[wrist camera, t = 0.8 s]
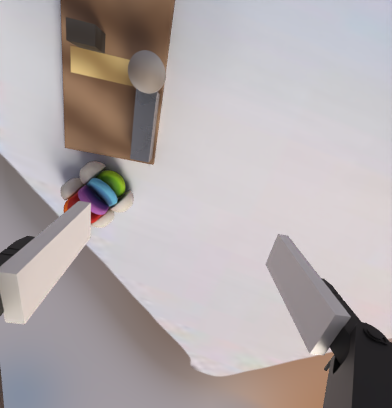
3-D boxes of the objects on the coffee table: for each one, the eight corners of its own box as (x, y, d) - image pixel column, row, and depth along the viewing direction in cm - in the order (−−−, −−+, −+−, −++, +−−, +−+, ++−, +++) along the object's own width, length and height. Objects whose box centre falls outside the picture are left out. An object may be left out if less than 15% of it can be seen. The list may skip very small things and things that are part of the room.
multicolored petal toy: (61, 188, 34) (30, 207, 27) (104, 150, 32) (82, 160, 25) (101, 226, 37) (82, 251, 30) (144, 193, 34) (133, 212, 28)
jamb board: (64, -36, 24) (31, -76, 19) (180, -3, 25) (178, -32, 20) (68, 146, 31) (45, 153, 26) (157, 163, 33) (152, 173, 28)
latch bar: (141, 89, 27) (136, 87, 25) (160, 94, 28) (156, 92, 25) (135, 154, 31) (130, 158, 28) (152, 158, 31) (148, 162, 28)
